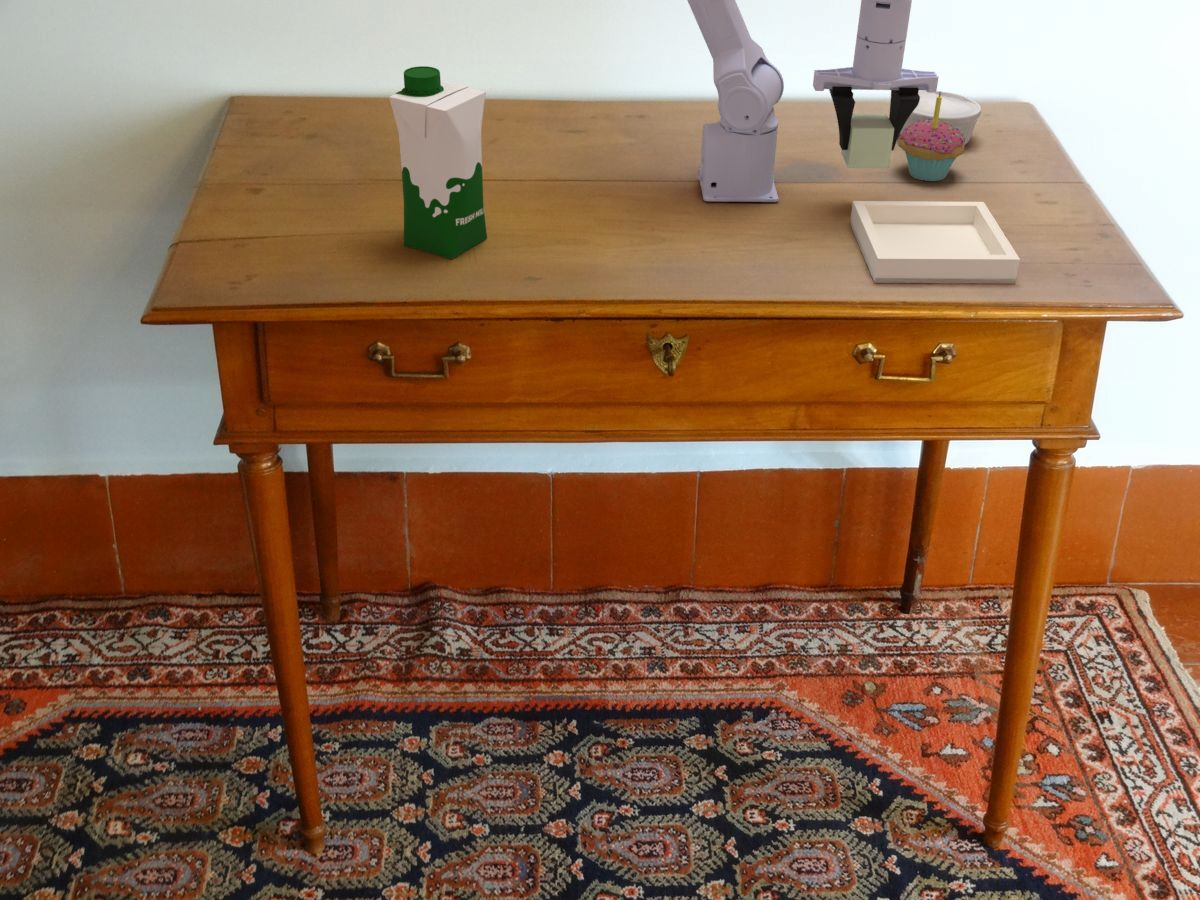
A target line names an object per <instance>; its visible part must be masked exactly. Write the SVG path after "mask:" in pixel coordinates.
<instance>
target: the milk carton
mask: <svg viewBox="0 0 1200 900" xmlns="http://www.w3.org/2000/svg"><path fill="white" fill-rule="evenodd" d="M403 84H404V85H403V86H404V87H403V88H402V89H401V90H400V91H396V92H395V93H394V94H392V95H390V96H389V102H390V106H391V108H392V113H393V117H394V120H395V124H396V127H397V131H398V132H397V133H398V141H399V151H400V152H399V154H400V165H401V166H400V168H401V182H402V196H403V245H404V246H406V247H408V248H412V249H416V250H419V251H423V252H426V253H430V254H433V255H436V256H440V257H442V258H446V259H449V260H453V259H455V258H457V257H458V256H460V255H461V254H463V253H465V252H466V251H469V250H470V249H472V248H473V247H475V246H477V245H478V244H480V243H481V242H483V241H485V240H486V239H488V235H487V234H488V233H487V224H486V217H485V208H484V207H485V206H484V205H485V204H484V184H483V183H484V182H483V181H484V180H483V158H482V156H483V155H482V125H483V116H484V110H485V102H486V101H485V100H486V91H484V90H481V89H475V88H471V87H469V86H468V85H465V84H458V83H453V82H449V81H445V80H441V71H440V70H439V68H436V67H433V66H421V65H420V66H413V67H412V66H411V67H409V68H407V69H405V70H404V72H403Z"/></svg>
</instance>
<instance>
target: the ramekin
mask: <svg viewBox="0 0 1200 900" xmlns="http://www.w3.org/2000/svg"><path fill="white" fill-rule="evenodd" d="M940 91H941V90H936V93H929V92H927V91H920V90H919V92H918V95H919V96H920V101H919V104H918V106H917V107H916V108H915V110H914V111H913V112H912V114H911V115H910V116H909V118H908V119H907V121H906V123H905V124H904V126H903V128H902V130H901V132H900V133H902V131H903V130H904V129H905V128H906V127H907V126H909V125H912V124H914V123H917V122H918V121H919V122H920V121H921V120H928V119H930V120H932V119H933V117H934V111H935V105H936V99H937V96H939V92H940ZM941 96H942V100H941V106H940V112H939V118H938V120H939V121H943V122H946V123H948V125H950V126H951V125H952V126H953V127H955V128H956V129H958V131H960V133H961V134H963V137H964V138H965V142H964V146H965V145H966V144H968V143H969V141H970V140H971V137H972V135H973V132H974V129H975V127H976V124H977V121H978V119H979V118H980V116H981V113H982V107H981V105H980V104H979V103H978V102H977V101H975V100H974V99H972V98H969V97H966V96H964V95H961V94H958V93H954V92H953V93H952V92H948V91H941Z"/></svg>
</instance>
